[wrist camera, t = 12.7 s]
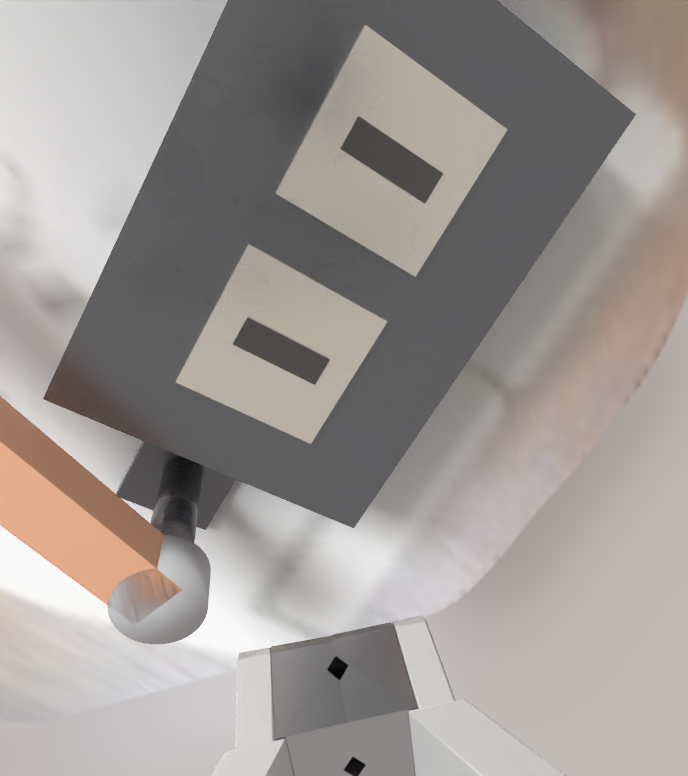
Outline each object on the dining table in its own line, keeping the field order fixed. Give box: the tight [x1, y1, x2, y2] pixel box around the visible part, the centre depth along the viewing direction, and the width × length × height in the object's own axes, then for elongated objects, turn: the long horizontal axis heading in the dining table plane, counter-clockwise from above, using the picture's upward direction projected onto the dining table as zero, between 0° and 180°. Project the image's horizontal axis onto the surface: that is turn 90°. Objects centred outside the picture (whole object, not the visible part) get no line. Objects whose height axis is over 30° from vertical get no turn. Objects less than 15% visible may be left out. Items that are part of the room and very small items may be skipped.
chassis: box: [43, 0, 636, 528], centre depth 25 cm, size 14×20×6 cm
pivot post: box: [116, 441, 235, 543], centre depth 28 cm, size 5×5×8 cm
